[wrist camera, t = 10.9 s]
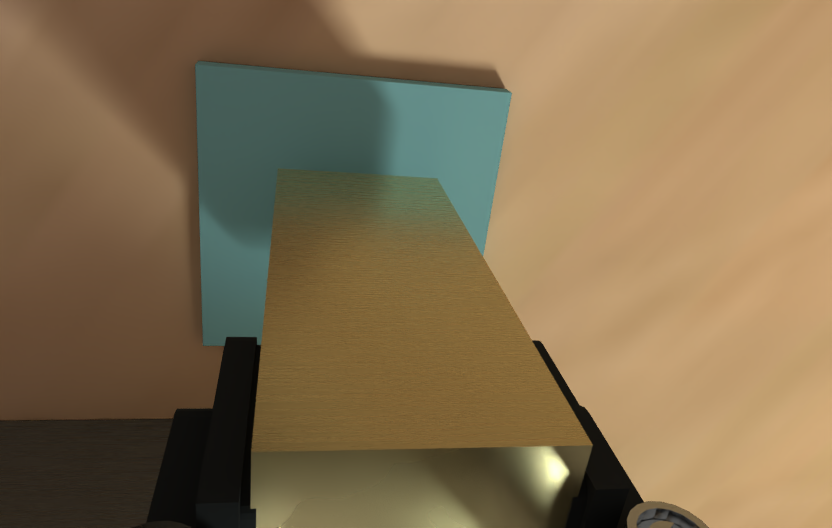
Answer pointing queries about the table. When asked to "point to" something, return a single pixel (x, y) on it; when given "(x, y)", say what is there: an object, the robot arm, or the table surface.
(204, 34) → the table surface
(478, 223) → the teal rubber mat
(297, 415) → the tan rectangular block
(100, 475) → the graphite rack rail
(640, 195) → the table surface
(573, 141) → the table surface
